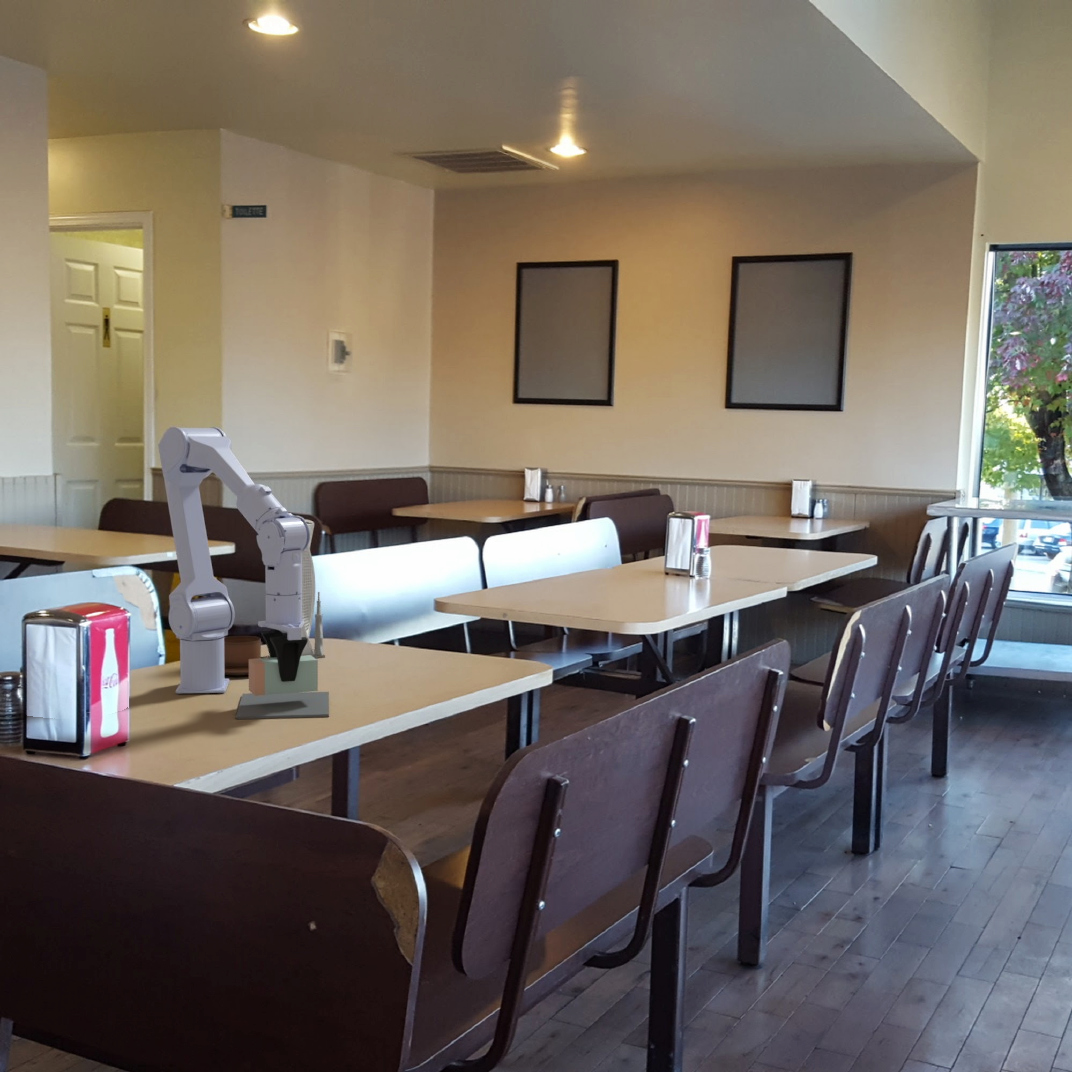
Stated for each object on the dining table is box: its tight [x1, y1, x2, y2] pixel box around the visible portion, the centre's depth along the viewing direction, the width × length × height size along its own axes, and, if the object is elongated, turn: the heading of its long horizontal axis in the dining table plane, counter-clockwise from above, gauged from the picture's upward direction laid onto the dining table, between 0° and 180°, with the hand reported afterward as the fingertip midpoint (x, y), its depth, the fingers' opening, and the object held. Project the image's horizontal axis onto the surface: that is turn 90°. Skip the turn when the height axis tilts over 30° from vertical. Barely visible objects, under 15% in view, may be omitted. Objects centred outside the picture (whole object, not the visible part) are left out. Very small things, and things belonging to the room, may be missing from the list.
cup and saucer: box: [224, 635, 266, 677], centre depth 221 cm, size 12×12×6 cm
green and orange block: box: [248, 655, 319, 696], centre depth 194 cm, size 10×4×5 cm, turn 115°
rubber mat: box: [235, 691, 330, 720], centre depth 195 cm, size 16×14×1 cm
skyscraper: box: [301, 518, 326, 659], centre depth 236 cm, size 8×8×28 cm
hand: (284, 677), depth 195 cm, fingers closed on green and orange block, 4 cm apart
